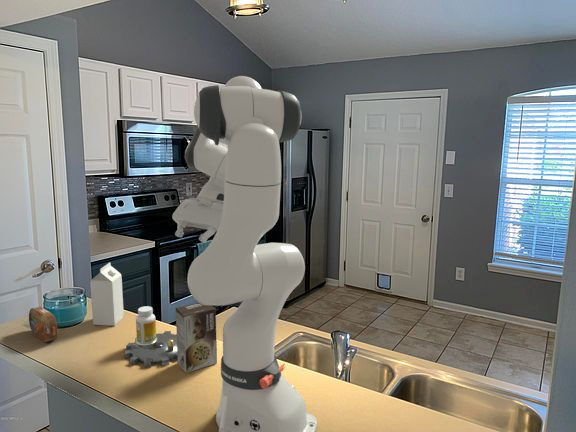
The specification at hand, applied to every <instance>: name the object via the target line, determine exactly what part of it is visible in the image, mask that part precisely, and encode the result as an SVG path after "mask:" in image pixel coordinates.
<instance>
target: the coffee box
mask: <svg viewBox="0 0 576 432" xmlns="http://www.w3.org/2000/svg"><path fill="white" fill-rule="evenodd" d="M216 311H217V310H216V308H215V307H214V305H202V304H200V303H199V302H196V303H191V304H188V305H183V306H178V307H176V308H175V321H176V323H175V325H176V334H177V352H178V360H177V364H178V365H179V366H180V367H181V369H182V370H183V371H184V372H186V374H188V373H191V372H193V371H197V370H201V369H203V368H206V367H209V366H212V365H215V364H218V350H217V349H218V348H217V346H218V344H217V317H216V316H217V312H216Z"/></svg>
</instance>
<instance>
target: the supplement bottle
mask: <svg viewBox="0 0 576 432" xmlns="http://www.w3.org/2000/svg"><path fill="white" fill-rule="evenodd" d="M153 312H154V309H153V307H152V306H149V305H147V306H145V305H144V306H141V307H139V308H138V309H137V314H138V315H137V316H136V317H135V326H136V327H135V329H136V337H137V342H138V343H140V344H148V343H152V342H154V341H155V340H156V334H157V325H156V316H155V314H154V313H153Z"/></svg>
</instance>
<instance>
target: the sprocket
mask: <svg viewBox="0 0 576 432" xmlns="http://www.w3.org/2000/svg"><path fill="white" fill-rule="evenodd" d="M124 357H125V359H126V360H127V359H130V361H129V362H130V364H132V365H133V366H136V365H137V364H140V363H141V364H143V366H144V368H151V367H153V365H157V364H158V365H159V364H161V366H162V367H164V366H169V365H170V362H172V361H174V360H176V361H178V352H177V333H176V334H174V333H172V331H171V330H165V331H164V332H161V333H156V340H155V341H154V342H152V343H148V344H140V343H138V342H137V336H136V337H134V342H128V343H127V344H126V346H125V350H124Z"/></svg>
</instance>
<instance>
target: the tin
mask: <svg viewBox="0 0 576 432" xmlns="http://www.w3.org/2000/svg"><path fill="white" fill-rule="evenodd" d="M28 323H29V328H30V331H31V332H32V334H33V335H34V336H35V337H36V338H38V339H40V340H41V341H42V342H44V343H48V342H52V341H54V340H56V339H57V337H58V321H57V318H56V316H55V314H54V313H52V312H50V311H49V310H48V309H46V308H44V307H42V306H37V307H32V308H30V310H29V312H28Z"/></svg>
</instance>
